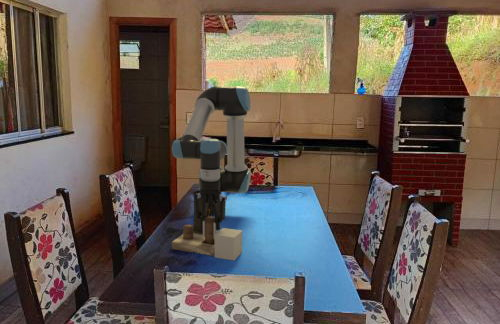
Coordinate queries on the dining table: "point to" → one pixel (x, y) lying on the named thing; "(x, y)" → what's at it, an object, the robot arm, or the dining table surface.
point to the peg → (209, 230)
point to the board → (192, 242)
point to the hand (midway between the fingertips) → (210, 236)
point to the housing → (228, 244)
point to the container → (197, 222)
